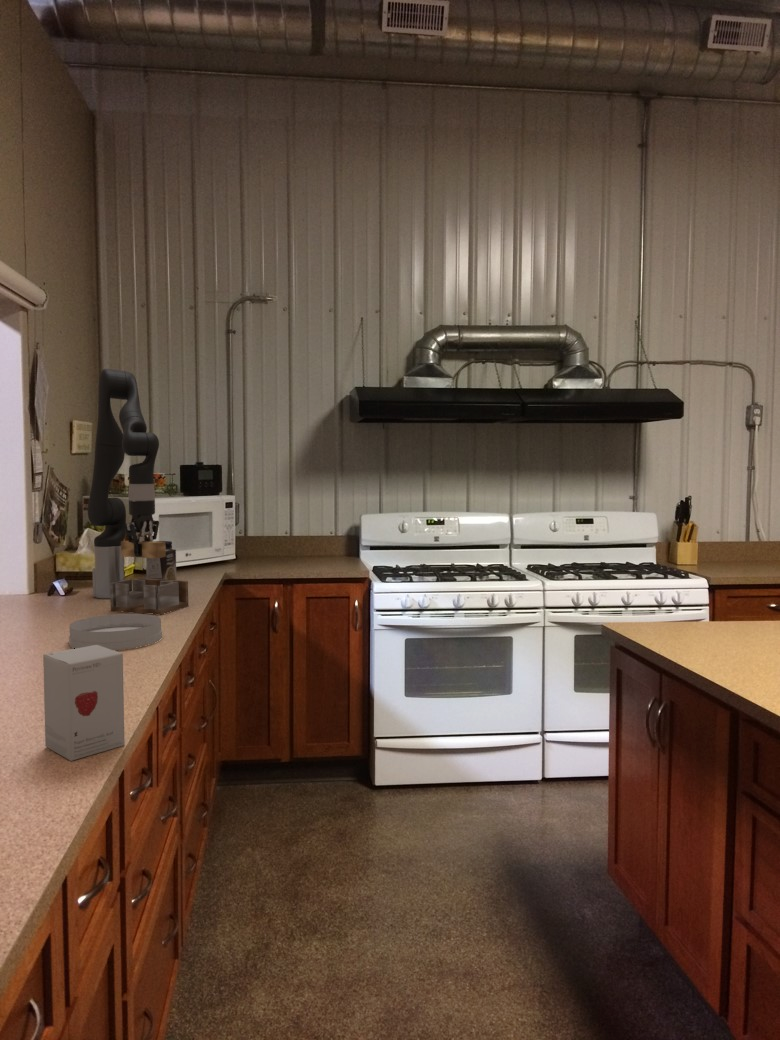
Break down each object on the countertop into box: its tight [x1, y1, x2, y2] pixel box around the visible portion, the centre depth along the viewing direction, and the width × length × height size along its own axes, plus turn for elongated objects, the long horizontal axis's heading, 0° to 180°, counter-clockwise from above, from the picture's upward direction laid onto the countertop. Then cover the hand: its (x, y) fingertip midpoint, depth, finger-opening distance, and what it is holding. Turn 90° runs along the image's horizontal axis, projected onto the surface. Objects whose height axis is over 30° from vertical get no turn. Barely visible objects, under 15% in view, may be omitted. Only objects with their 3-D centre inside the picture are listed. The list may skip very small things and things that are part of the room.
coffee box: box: [145, 548, 177, 580], centre depth 245 cm, size 9×6×16 cm
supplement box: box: [42, 645, 126, 762], centre depth 116 cm, size 9×9×15 cm
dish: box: [68, 613, 163, 651], centre depth 187 cm, size 22×22×5 cm
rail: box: [121, 540, 166, 559], centre depth 225 cm, size 13×4×4 cm, turn 72°
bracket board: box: [109, 578, 189, 615], centre depth 228 cm, size 18×14×8 cm
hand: (143, 555), depth 225 cm, fingers closed on rail, 4 cm apart
